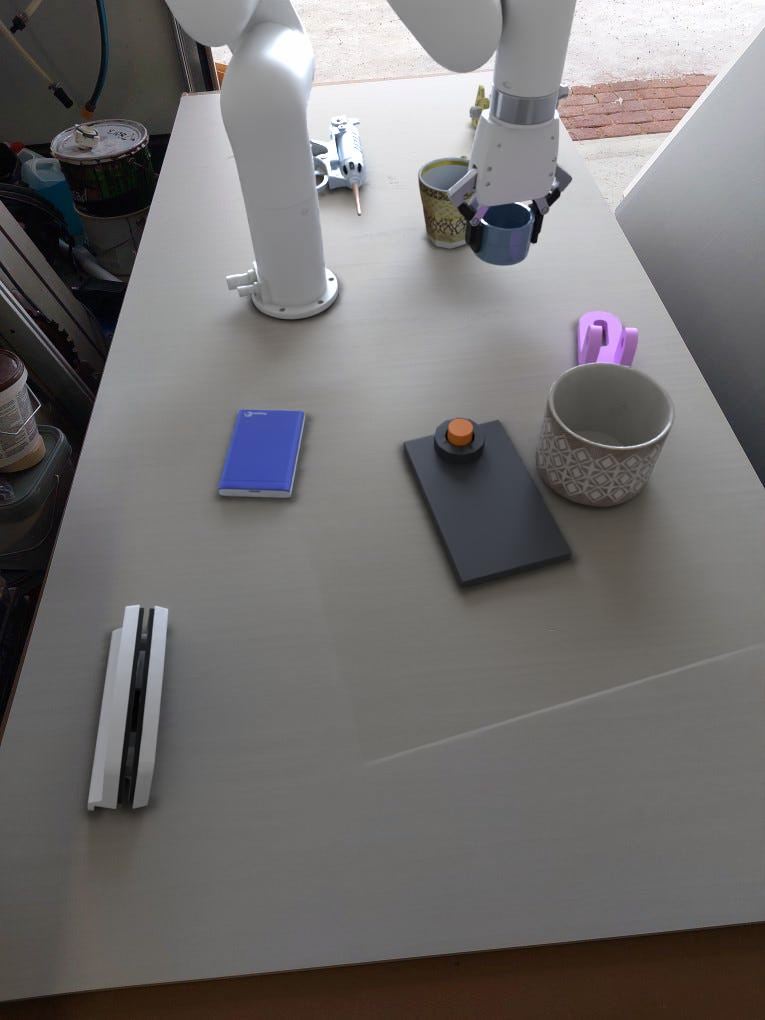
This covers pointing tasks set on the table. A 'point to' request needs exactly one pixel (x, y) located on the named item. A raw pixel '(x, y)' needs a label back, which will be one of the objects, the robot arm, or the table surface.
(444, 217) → the ceramic cup
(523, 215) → the blue cup
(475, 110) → the ball valve
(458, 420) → the button
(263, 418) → the hard drive
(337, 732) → the table surface
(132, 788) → the white slotted block
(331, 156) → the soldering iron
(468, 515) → the scale
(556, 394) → the planter
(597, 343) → the bracket
